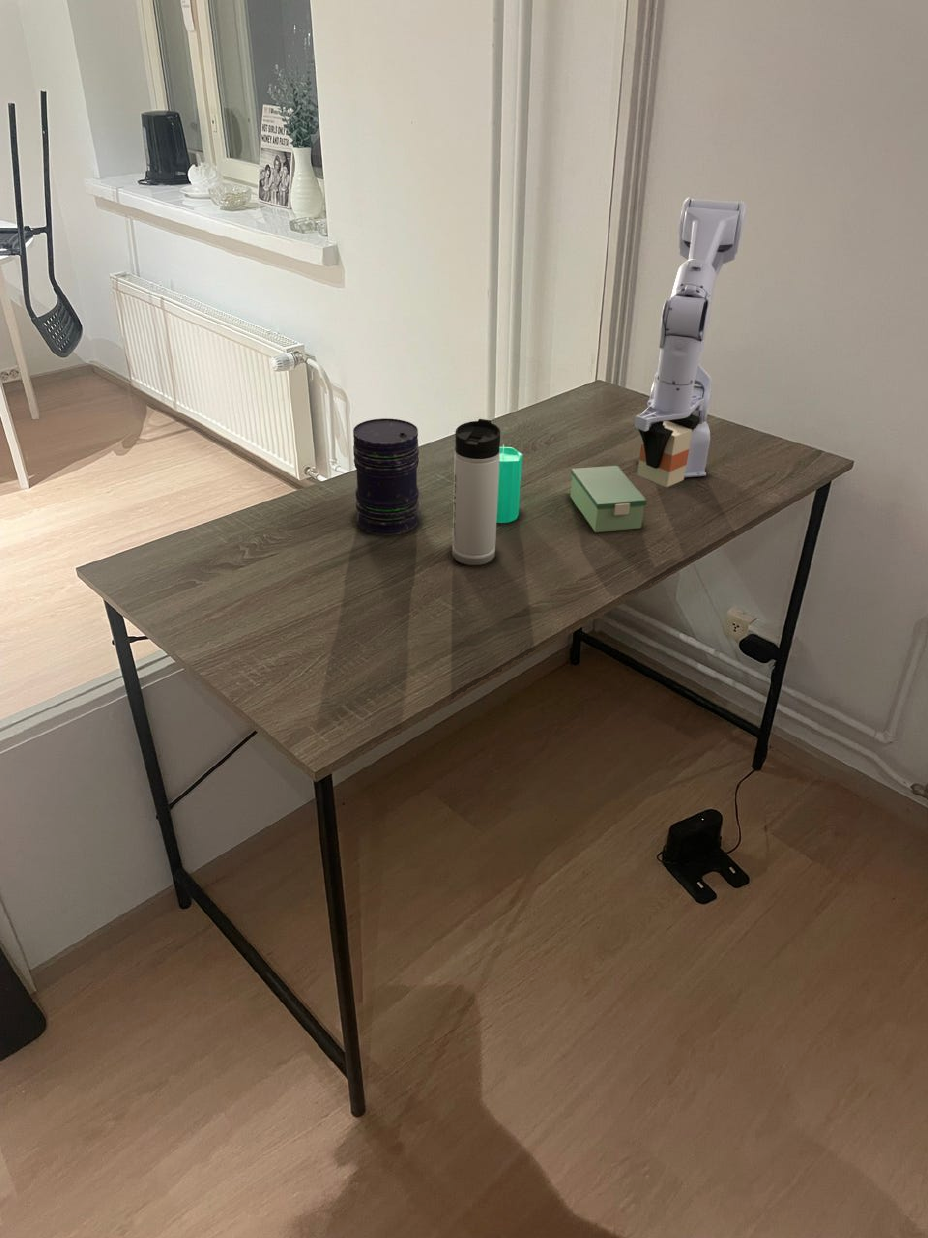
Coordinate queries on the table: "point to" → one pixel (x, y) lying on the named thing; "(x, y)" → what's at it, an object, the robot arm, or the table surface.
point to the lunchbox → (607, 498)
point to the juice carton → (669, 457)
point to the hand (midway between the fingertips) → (662, 462)
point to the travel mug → (475, 491)
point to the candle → (509, 484)
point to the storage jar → (386, 475)
